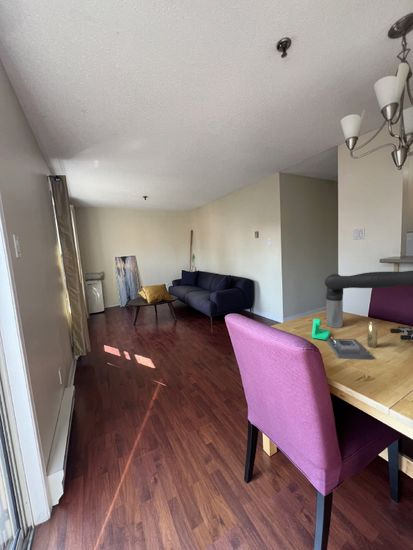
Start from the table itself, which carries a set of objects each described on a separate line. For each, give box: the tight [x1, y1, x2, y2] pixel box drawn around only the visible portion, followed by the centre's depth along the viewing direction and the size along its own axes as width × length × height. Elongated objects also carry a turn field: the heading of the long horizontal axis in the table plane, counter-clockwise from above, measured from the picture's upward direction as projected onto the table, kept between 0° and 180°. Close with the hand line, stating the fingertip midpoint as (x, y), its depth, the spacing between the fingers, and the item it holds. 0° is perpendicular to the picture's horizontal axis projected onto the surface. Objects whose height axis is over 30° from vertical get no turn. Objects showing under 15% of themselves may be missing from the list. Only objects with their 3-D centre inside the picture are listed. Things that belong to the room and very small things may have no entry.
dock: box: [326, 336, 373, 360], centre depth 114 cm, size 18×14×4 cm
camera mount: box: [311, 318, 331, 341], centre depth 132 cm, size 12×8×10 cm, turn 144°
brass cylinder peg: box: [366, 320, 378, 349], centre depth 116 cm, size 4×4×13 cm
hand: (395, 334), depth 114 cm, fingers open, 8 cm apart
